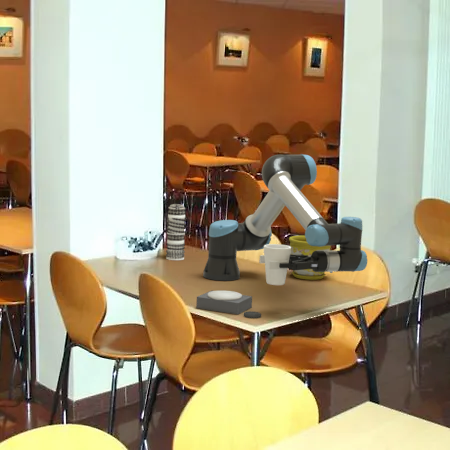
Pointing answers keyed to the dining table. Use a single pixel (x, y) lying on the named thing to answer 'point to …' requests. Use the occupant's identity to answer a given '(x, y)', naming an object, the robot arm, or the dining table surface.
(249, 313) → the lens cap
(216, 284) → the dining table surface
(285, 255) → the foam cup
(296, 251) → the flowerpot
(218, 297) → the mount
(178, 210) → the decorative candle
